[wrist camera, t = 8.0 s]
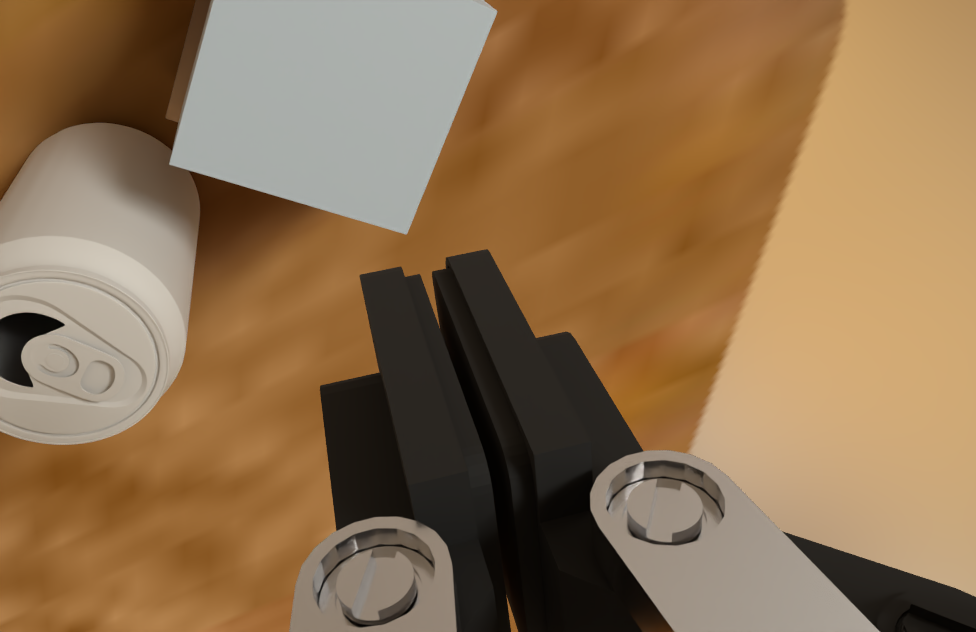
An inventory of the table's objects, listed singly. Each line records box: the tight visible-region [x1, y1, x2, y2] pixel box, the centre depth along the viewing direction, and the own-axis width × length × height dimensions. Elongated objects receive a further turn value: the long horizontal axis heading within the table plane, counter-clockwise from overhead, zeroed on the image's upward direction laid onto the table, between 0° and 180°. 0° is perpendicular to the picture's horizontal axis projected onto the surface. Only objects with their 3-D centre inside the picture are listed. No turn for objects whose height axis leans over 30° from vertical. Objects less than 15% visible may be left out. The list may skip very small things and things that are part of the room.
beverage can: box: [0, 123, 200, 445], centre depth 28 cm, size 6×6×12 cm
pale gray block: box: [169, 0, 497, 234], centre depth 25 cm, size 7×7×5 cm
